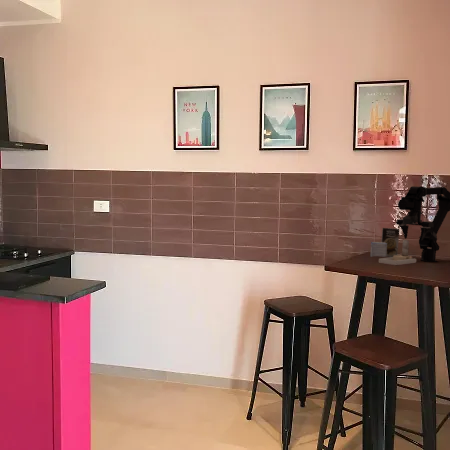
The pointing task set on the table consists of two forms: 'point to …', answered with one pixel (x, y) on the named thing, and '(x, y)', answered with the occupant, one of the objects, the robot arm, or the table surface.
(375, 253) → the medicine box
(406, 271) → the table surface
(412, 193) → the robot arm
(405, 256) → the handle block
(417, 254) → the table surface
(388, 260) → the shelf lane
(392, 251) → the coffee box
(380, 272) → the table surface
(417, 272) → the table surface
